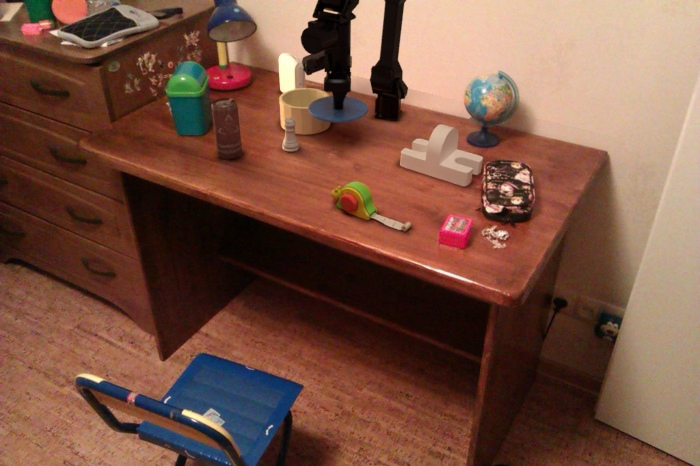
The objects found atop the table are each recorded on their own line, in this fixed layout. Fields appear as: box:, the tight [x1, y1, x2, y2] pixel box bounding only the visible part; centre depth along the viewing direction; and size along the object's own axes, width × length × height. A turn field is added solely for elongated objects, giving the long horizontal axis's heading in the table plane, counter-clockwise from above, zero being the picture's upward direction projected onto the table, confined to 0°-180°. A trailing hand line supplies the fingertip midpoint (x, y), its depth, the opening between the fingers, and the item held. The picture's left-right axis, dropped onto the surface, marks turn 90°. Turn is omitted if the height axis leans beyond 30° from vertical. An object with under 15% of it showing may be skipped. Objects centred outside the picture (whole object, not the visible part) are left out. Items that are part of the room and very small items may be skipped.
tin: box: [278, 87, 332, 136], centre depth 164 cm, size 14×14×8 cm
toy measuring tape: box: [331, 180, 412, 233], centre depth 128 cm, size 6×20×7 cm, turn 55°
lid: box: [309, 95, 369, 124], centre depth 148 cm, size 15×15×6 cm
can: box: [211, 97, 243, 161], centre depth 147 cm, size 6×6×14 cm
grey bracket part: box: [399, 123, 484, 187], centre depth 144 cm, size 10×18×11 cm, turn 56°
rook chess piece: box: [281, 118, 300, 153], centre depth 152 cm, size 4×4×8 cm
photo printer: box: [278, 52, 307, 94], centre depth 179 cm, size 10×4×12 cm, turn 35°
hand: (338, 105), depth 148 cm, fingers closed on lid, 2 cm apart
